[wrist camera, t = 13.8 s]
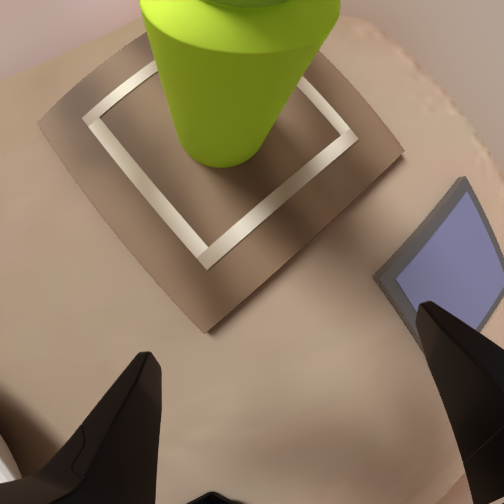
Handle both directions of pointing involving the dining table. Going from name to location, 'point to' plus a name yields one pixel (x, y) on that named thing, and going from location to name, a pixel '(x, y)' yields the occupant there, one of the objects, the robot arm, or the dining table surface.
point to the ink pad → (447, 263)
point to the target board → (214, 177)
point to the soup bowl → (7, 464)
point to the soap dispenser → (232, 67)
